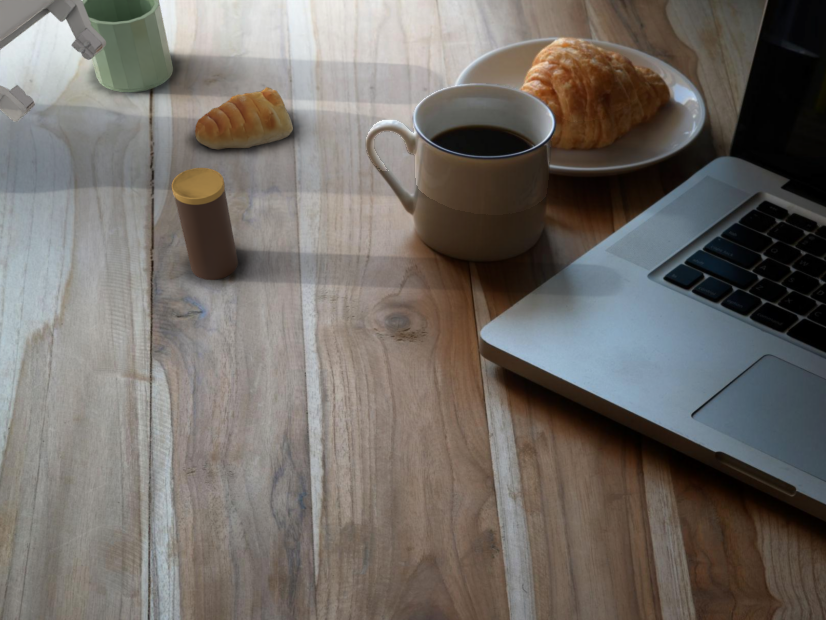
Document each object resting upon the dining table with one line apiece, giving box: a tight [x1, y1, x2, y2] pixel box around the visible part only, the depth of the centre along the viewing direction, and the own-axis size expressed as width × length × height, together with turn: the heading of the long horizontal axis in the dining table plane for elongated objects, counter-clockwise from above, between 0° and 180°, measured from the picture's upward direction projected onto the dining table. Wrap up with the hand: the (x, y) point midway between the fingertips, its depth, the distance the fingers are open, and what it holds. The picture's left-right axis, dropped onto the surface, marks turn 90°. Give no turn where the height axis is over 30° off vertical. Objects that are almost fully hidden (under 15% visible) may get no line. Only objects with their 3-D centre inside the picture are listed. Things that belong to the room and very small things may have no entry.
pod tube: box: [171, 167, 239, 281], centre depth 78 cm, size 4×4×9 cm
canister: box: [82, 0, 174, 93], centre depth 99 cm, size 8×8×8 cm
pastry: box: [194, 86, 294, 150], centre depth 93 cm, size 9×7×4 cm
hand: (63, 81), depth 73 cm, fingers open, 8 cm apart
